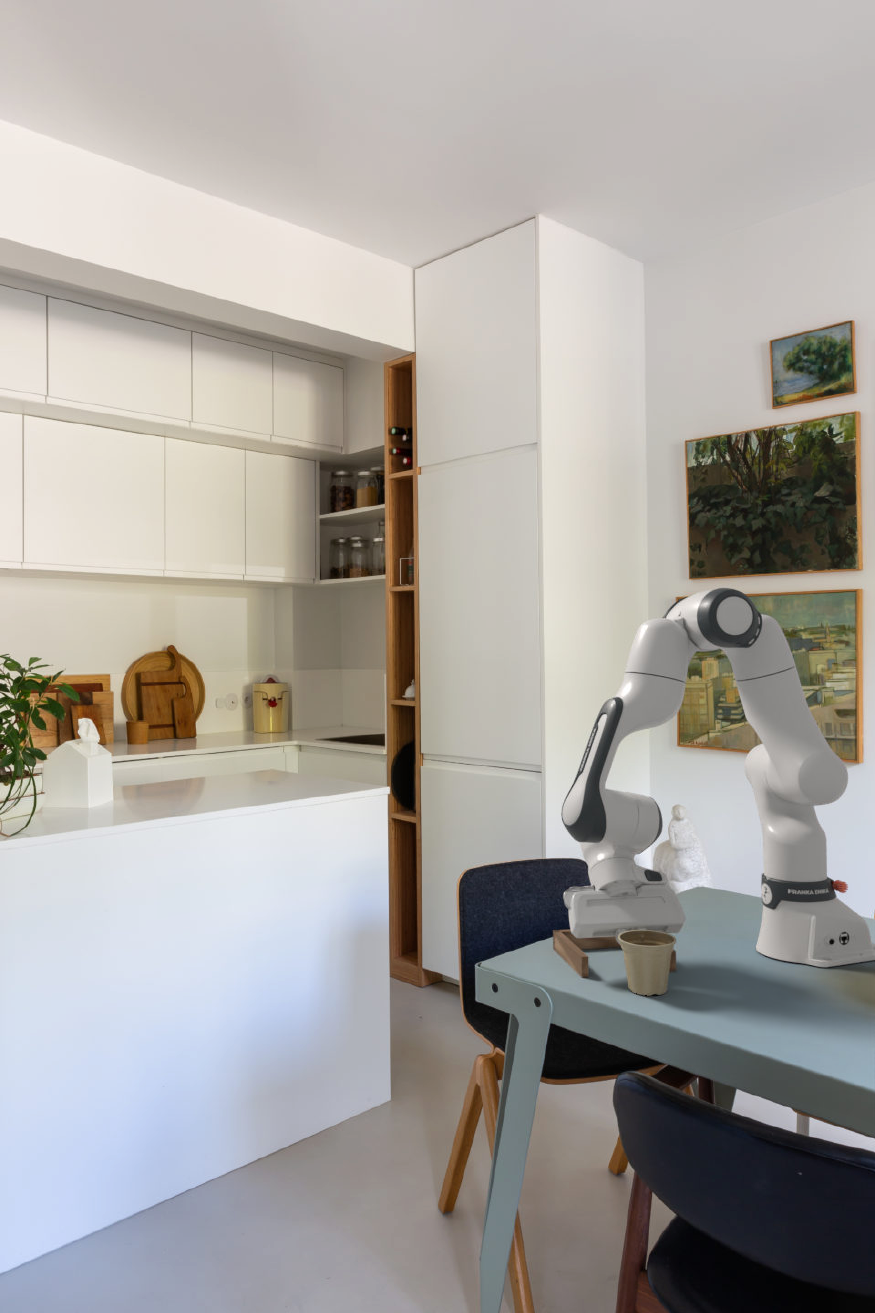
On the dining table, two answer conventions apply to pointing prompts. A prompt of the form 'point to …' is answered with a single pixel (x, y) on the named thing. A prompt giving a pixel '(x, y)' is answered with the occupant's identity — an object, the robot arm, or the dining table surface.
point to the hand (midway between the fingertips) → (637, 956)
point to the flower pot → (647, 960)
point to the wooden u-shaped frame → (576, 957)
